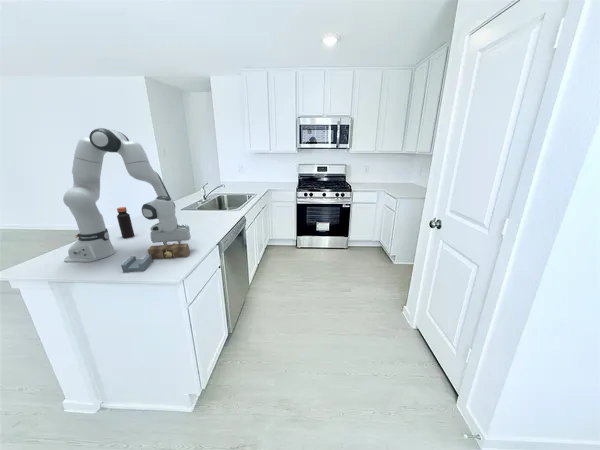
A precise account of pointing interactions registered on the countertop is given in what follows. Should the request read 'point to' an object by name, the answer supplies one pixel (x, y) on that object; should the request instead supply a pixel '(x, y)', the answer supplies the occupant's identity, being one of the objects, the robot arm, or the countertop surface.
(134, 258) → the v block
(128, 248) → the countertop surface
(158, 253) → the beam
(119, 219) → the bottle
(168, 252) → the gold bar
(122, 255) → the countertop surface
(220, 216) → the countertop surface
